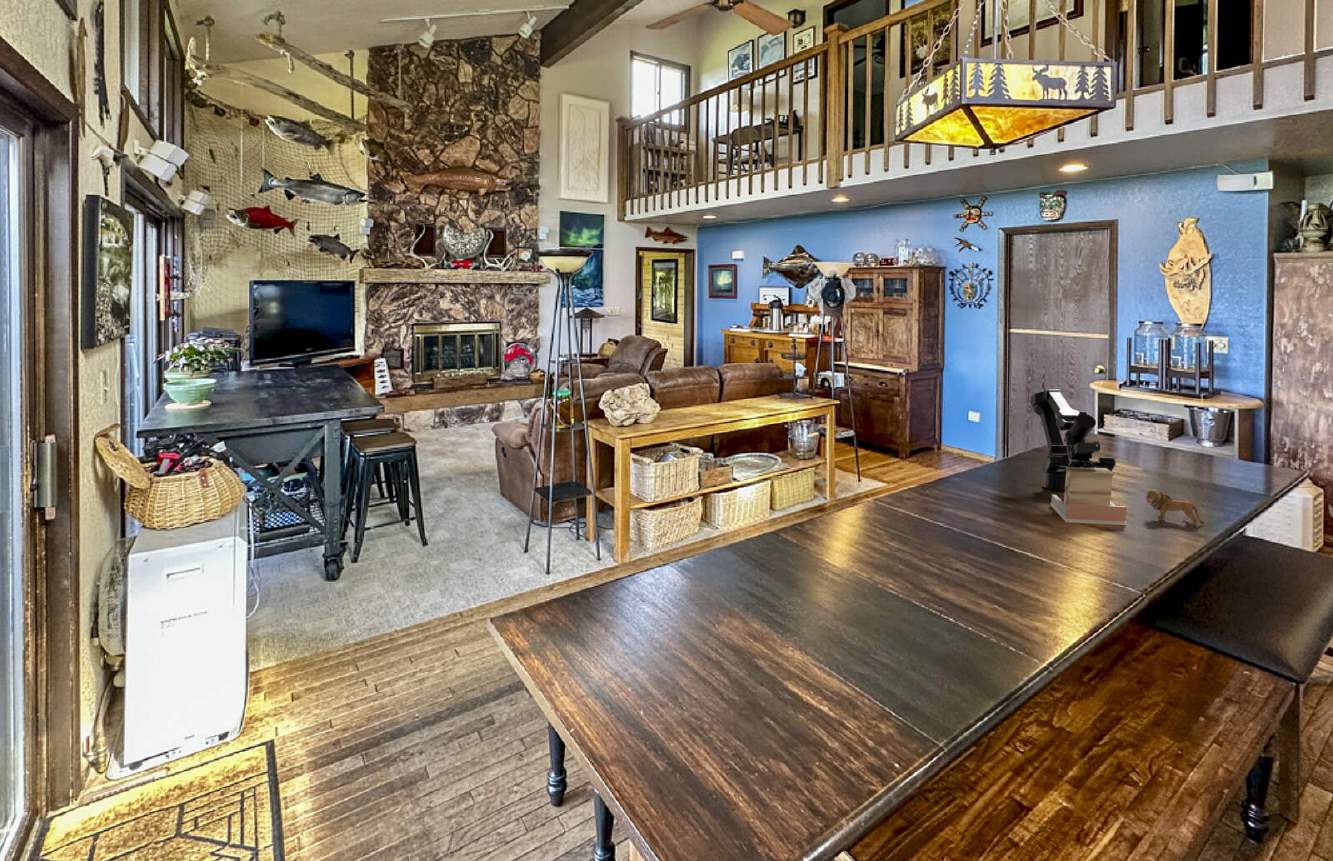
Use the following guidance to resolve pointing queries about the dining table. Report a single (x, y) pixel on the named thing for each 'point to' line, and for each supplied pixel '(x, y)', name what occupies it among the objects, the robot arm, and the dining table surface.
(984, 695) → the dining table surface
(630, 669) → the dining table surface
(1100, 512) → the box
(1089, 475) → the cream flanged block
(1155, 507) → the lion figurine
